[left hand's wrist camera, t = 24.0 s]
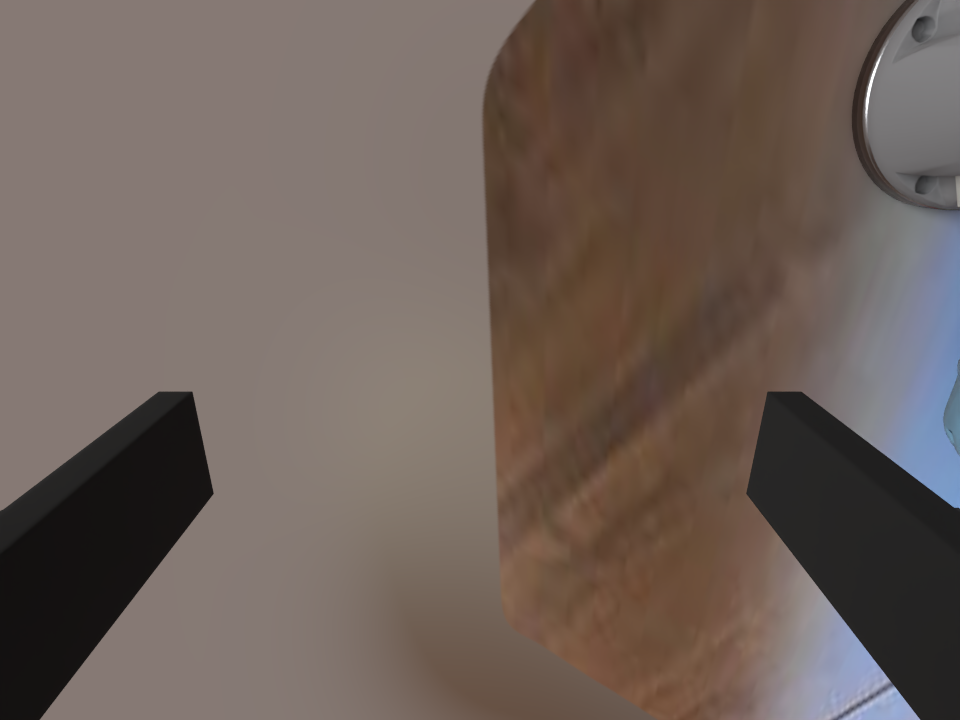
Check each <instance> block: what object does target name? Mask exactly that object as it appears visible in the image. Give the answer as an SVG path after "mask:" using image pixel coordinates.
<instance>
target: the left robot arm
mask: <svg viewBox="0 0 960 720" xmlns="http://www.w3.org/2000/svg"><path fill="white" fill-rule="evenodd" d="M852 130H853V138H854V143H855V148H856V151H857V154H858V157H859V159H860V161H861V163H862V166H863V168H864V169H865V171H866V172H867V174H868V176H869V177H870V178H871V179H872V180H873V182H874V183H875V184H876V185H877V186H878V187H879V188H880V189H881V190H883V191H884V192H886V193H887V194H888V195H890V196H892V197H893V198H895V199H897V200H899V201H902V202H904V203H907V204H911V205H914V206H920V207H926V208H934V209H941V210H960V0H906V1H905V2H904V3H903V4H902V5H901V6H900V7H899V8H898V9H897V11H896V12H895V13H894V14H893V15H892V16H891V18H890V19H889V20H888V22H887V23H886V24H885V26H884V27H883V28H882V30H881V32H880V33H879V35H878V36H877V38H876V39H875V41H874V43H873V45H872V47H871V49H870V51H869V52H868V55H867V57H866V59H865V61H864V64H863V66H862V69H861V72H860V75H859V78H858V81H857V85H856V89H855V94H854V100H853V109H852ZM943 422H944V429H945V432H946V434H947V436H948V438H949V440H950V442H951V443H952V444H953V446H954V447H955V449H956V451H957V453H958V454H959V455H960V359H959V361H958V376H957V379H956V382H955V385H954V387H953V390H952V392H951V395H950V398H949V400H948V403H947V405H946V408H945V411H944V418H943ZM746 494H747V495H748V496H749V498H750V499H751V500H752V502H753V503H754V504H755V506H756V507H757V508H758V509H759V511H760V512H761V513H762V515H763V516H764V517H765V519H766V520H767V521H768V522H769V524H770V525H771V526H772V528H773V529H774V530H775V532H776V533H777V534H778V535H779V537H780V538H781V539H782V541H783V542H784V543H785V544H786V546H787V547H788V548H789V550H790V551H791V552H792V554H793V555H794V556H795V557H796V559H797V560H798V561H799V563H800V564H801V565H802V567H803V568H804V569H805V570H806V572H807V573H808V574H809V576H810V577H811V578H812V580H813V581H814V582H815V583H816V585H817V586H818V587H819V589H820V590H821V591H822V593H823V594H824V595H825V596H826V598H827V599H828V600H829V602H830V603H831V604H832V606H833V607H834V608H835V609H836V611H837V612H838V613H839V615H840V616H841V617H842V619H843V620H844V621H845V622H846V624H847V625H848V626H849V628H850V629H851V630H852V631H853V633H854V634H855V635H856V637H857V638H858V639H859V641H860V642H861V643H862V644H863V646H864V647H865V648H866V650H867V651H868V652H869V654H870V655H871V656H872V657H873V659H874V660H875V661H876V663H877V664H878V665H879V667H880V668H881V669H882V670H883V672H884V673H885V674H886V676H887V677H888V678H889V680H890V681H891V682H892V683H893V685H894V686H895V687H896V689H897V690H898V691H899V693H900V694H901V695H902V696H903V698H904V699H905V700H906V702H907V703H908V704H909V705H910V707H911V708H912V709H913V711H914V712H915V713H916V715H917V716H918V717H919V718H920V720H960V509H959V508H954V507H952V506H951V505H950V504H948V503H947V502H946V501H945V500H943V499H942V498H941V497H939V496H938V495H937V494H935V493H934V492H933V491H931V490H930V489H929V488H927V487H926V486H925V485H923V484H922V483H921V482H919V481H918V480H917V479H916V478H914V477H913V476H912V475H910V474H909V473H908V472H906V471H905V470H904V469H902V468H901V467H900V466H898V465H897V464H896V463H894V462H893V461H892V460H891V459H889V458H888V457H887V456H885V455H884V454H883V453H881V452H880V451H879V450H877V449H876V448H875V447H873V446H872V445H871V444H869V443H868V442H867V441H865V440H864V439H863V438H862V437H860V436H859V435H858V434H856V433H855V432H854V431H852V430H851V429H850V428H848V427H847V426H846V425H844V424H843V423H842V422H840V421H839V420H838V419H836V418H835V417H834V416H833V415H831V414H830V413H829V412H827V411H826V410H825V409H823V408H822V407H821V406H819V405H818V404H817V403H815V402H814V401H813V400H811V399H810V398H809V397H808V396H806V395H805V394H804V393H802V392H767V397H766V402H765V407H764V412H763V416H762V421H761V426H760V431H759V436H758V440H757V445H756V450H755V455H754V460H753V464H752V469H751V474H750V479H749V484H748V488H747V493H746ZM212 495H213V488H212V484H211V479H210V474H209V469H208V464H207V460H206V455H205V450H204V445H203V440H202V436H201V431H200V426H199V421H198V416H197V412H196V407H195V402H194V397H193V393H192V392H158V393H157V394H155V395H154V396H152V397H151V398H150V399H149V400H147V401H146V402H145V403H143V404H142V405H141V406H139V407H138V408H137V409H135V410H134V411H133V412H131V413H130V414H129V415H127V416H126V417H125V418H123V419H122V420H121V421H120V422H118V423H117V424H116V425H114V426H113V427H112V428H110V429H109V430H108V431H106V432H105V433H104V434H102V435H101V436H100V437H99V438H97V439H96V440H95V441H93V442H92V443H91V444H89V445H88V446H87V447H85V448H84V449H83V450H81V451H80V452H79V453H77V454H76V455H75V456H73V457H72V458H71V459H69V460H68V461H67V462H66V463H64V464H63V465H62V466H60V467H59V468H58V469H56V470H55V471H54V472H52V473H51V474H50V475H49V476H47V477H46V478H44V479H43V480H42V481H41V482H39V483H38V484H37V485H35V486H34V487H33V488H31V489H30V490H29V491H27V492H26V493H25V494H23V495H22V496H21V497H19V498H18V499H17V500H16V501H14V502H13V503H12V504H10V505H9V506H8V507H6V508H5V509H4V510H1V511H0V720H40V718H41V717H42V716H43V715H44V713H45V712H46V711H47V709H48V708H49V707H50V705H51V704H52V703H53V702H54V700H55V699H56V698H57V696H58V695H59V694H60V692H61V691H62V690H63V689H64V687H65V686H66V685H67V683H68V682H69V681H70V680H71V678H72V677H73V676H74V674H75V673H76V672H77V670H78V669H79V668H80V667H81V665H82V664H83V663H84V661H85V660H86V659H87V657H88V656H89V655H90V653H91V652H92V651H93V650H94V648H95V647H96V646H97V644H98V643H99V642H100V641H101V639H102V638H103V637H104V635H105V634H106V633H107V631H108V630H109V629H110V628H111V626H112V625H113V624H114V622H115V621H116V620H117V618H118V617H119V616H120V615H121V613H122V612H123V611H124V609H125V608H126V607H127V605H128V604H129V603H130V602H131V600H132V599H133V598H134V596H135V595H136V594H137V592H138V591H139V590H140V589H141V587H142V586H143V585H144V583H145V582H146V581H147V580H148V578H149V577H150V576H151V574H152V573H153V572H154V570H155V569H156V568H157V567H158V565H159V564H160V563H161V561H162V560H163V559H164V557H165V556H166V555H167V554H168V552H169V551H170V550H171V548H172V547H173V546H174V544H175V543H176V542H177V541H178V539H179V538H180V537H181V535H182V534H183V533H184V532H185V530H186V529H187V528H188V526H189V525H190V524H191V522H192V521H193V520H194V519H195V517H196V516H197V515H198V513H199V512H200V511H201V509H202V508H203V507H204V506H205V504H206V503H207V502H208V500H209V499H210V498H211V496H212Z"/></svg>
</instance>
